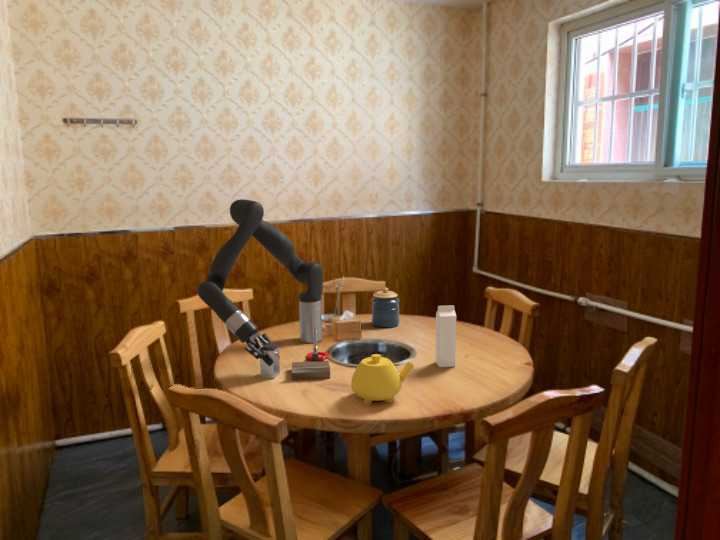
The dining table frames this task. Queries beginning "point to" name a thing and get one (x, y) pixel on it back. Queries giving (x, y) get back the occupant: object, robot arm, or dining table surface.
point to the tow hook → (316, 351)
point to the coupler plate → (310, 370)
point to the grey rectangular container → (273, 353)
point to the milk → (446, 336)
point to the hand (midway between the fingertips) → (274, 361)
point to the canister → (385, 309)
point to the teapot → (378, 379)
